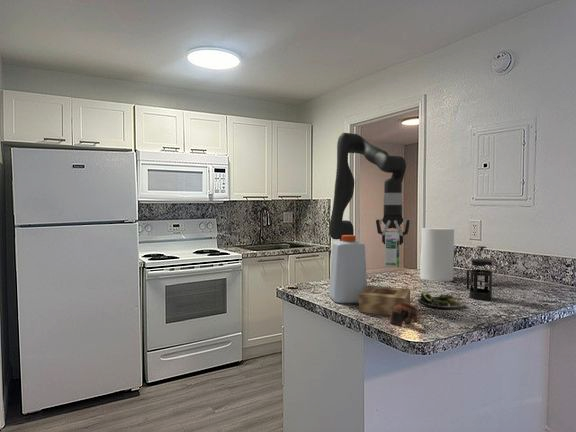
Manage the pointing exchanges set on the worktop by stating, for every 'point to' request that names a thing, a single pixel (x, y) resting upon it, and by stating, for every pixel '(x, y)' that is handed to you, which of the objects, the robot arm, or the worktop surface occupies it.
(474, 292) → the french press
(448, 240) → the cylinder
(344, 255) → the plastic bottle
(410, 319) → the pottery mug
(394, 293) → the slot block
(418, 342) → the worktop surface
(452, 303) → the salad plate
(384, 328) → the worktop surface
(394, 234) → the syrup box
